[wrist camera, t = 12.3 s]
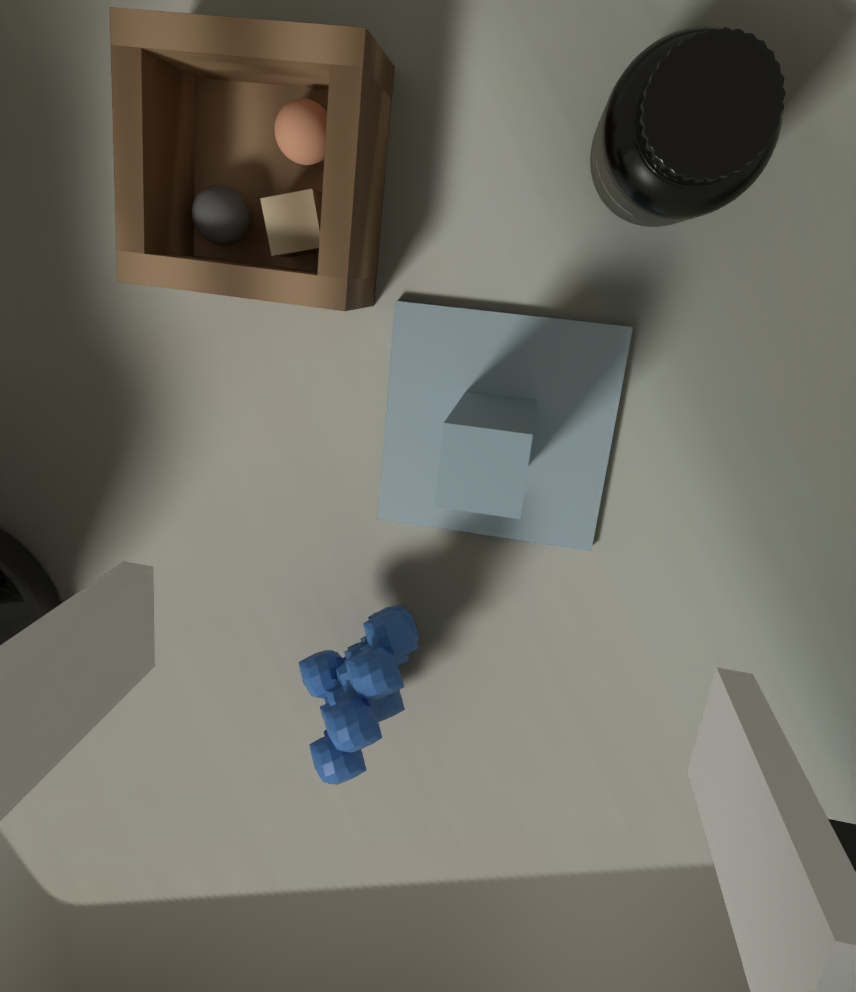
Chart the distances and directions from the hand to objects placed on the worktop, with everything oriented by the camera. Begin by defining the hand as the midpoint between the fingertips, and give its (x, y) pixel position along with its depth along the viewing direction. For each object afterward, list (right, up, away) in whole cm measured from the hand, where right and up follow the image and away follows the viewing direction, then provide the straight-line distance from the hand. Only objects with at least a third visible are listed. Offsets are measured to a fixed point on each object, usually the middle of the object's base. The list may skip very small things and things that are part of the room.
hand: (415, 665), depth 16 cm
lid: (+4, +8, +25) cm, 27 cm away
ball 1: (-11, +19, +23) cm, 32 cm away
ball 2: (-6, +23, +21) cm, 31 cm away
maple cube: (-6, +19, +22) cm, 30 cm away
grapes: (-3, -5, +30) cm, 31 cm away
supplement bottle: (+12, +21, +19) cm, 31 cm away
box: (-8, +21, +22) cm, 32 cm away
